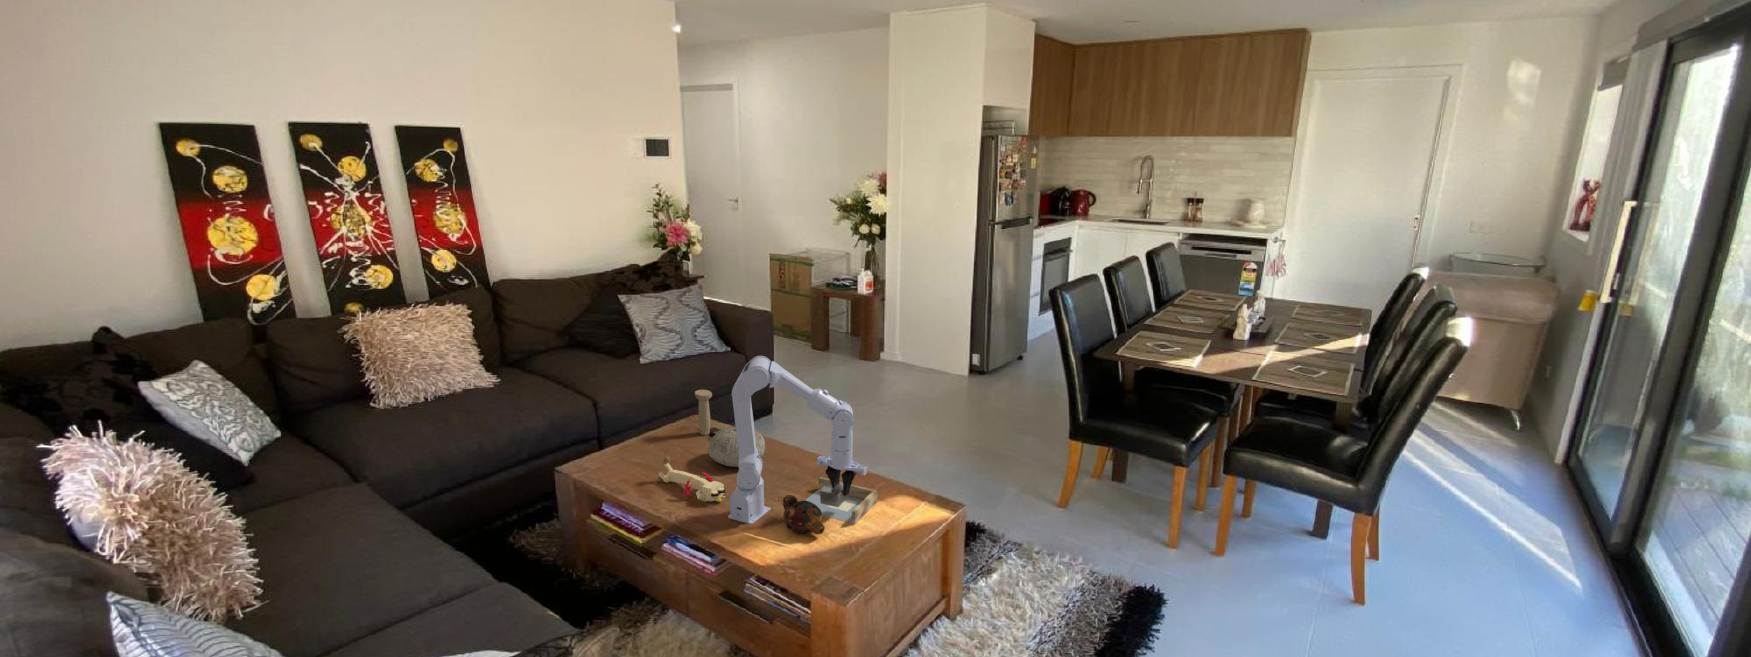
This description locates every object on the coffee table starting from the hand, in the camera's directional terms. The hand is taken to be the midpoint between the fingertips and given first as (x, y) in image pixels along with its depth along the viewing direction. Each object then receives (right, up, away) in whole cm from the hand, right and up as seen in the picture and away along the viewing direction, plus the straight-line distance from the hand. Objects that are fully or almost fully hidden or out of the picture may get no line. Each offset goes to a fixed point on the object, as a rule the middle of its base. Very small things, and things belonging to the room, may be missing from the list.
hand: (841, 493), depth 208 cm
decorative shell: (-34, +3, +32) cm, 47 cm away
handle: (-49, +9, +52) cm, 72 cm away
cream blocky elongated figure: (-44, -2, +12) cm, 45 cm away
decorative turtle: (-10, -8, -8) cm, 15 cm away
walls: (-2, -5, +4) cm, 7 cm away
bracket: (-2, -2, 0) cm, 3 cm away
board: (-2, -5, +4) cm, 7 cm away
